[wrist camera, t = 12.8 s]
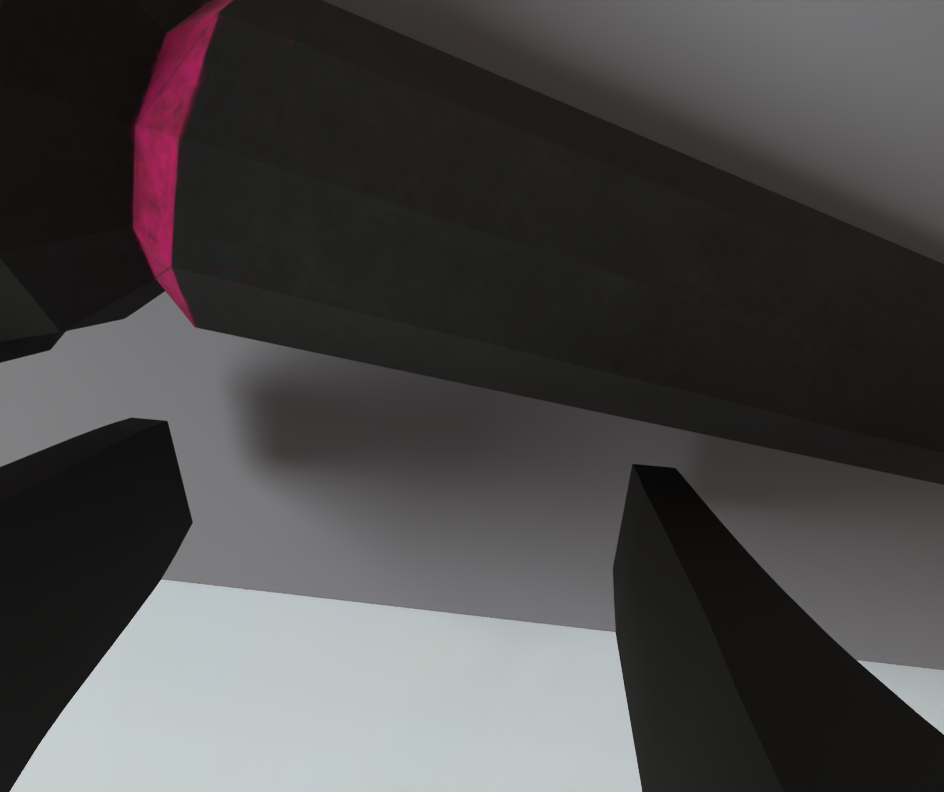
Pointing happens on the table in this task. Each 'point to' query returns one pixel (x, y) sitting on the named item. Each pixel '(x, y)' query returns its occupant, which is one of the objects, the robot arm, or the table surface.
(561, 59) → the charcoal mat
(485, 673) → the table surface
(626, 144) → the microphone
